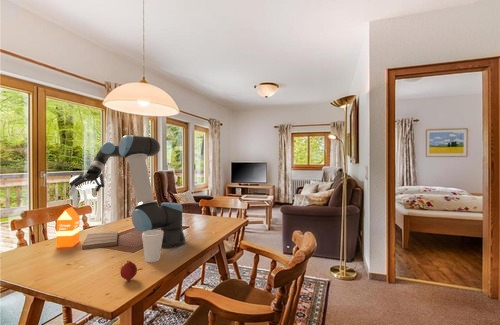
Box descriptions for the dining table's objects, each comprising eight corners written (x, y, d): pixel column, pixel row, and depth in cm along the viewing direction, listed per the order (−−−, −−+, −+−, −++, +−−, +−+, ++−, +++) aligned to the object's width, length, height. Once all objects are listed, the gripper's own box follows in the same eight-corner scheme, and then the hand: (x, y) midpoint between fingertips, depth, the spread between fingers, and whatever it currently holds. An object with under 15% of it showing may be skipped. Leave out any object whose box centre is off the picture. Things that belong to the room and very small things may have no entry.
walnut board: (116, 245, 138) (116, 241, 138) (81, 249, 131) (81, 245, 131) (117, 234, 157) (117, 231, 157) (87, 237, 150) (87, 234, 150)
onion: (128, 276, 102) (128, 256, 102) (140, 278, 100) (140, 258, 100) (117, 282, 96) (117, 262, 96) (129, 285, 94) (129, 264, 94)
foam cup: (154, 265, 113) (155, 236, 113) (137, 262, 115) (137, 234, 115) (166, 256, 122) (167, 230, 122) (150, 254, 124) (150, 228, 124)
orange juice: (79, 241, 143) (80, 206, 143) (72, 246, 134) (73, 209, 134) (63, 242, 141) (64, 207, 141) (55, 247, 133) (56, 210, 133)
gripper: (116, 173, 169) (105, 199, 154) (78, 172, 167) (62, 198, 152) (113, 165, 163) (100, 191, 148) (73, 165, 162) (56, 191, 147)
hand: (81, 195), depth 150 cm, fingers open, 13 cm apart
